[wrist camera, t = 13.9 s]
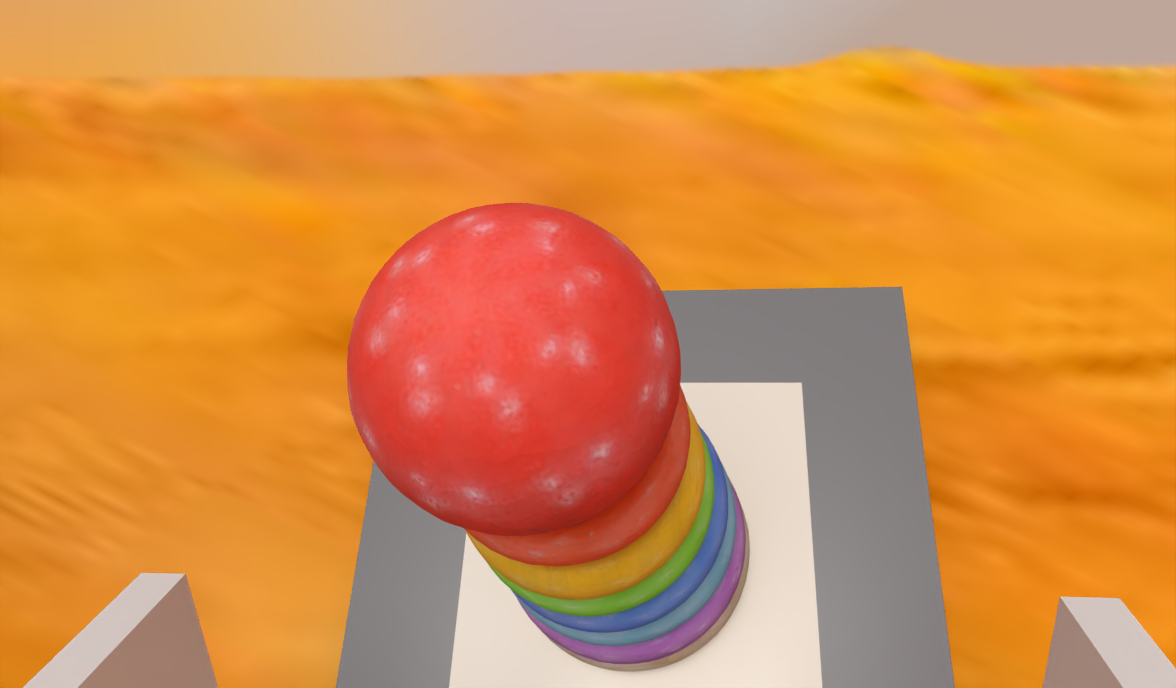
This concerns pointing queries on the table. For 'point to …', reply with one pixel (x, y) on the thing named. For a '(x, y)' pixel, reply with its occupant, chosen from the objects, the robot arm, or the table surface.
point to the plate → (772, 510)
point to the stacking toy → (552, 429)
